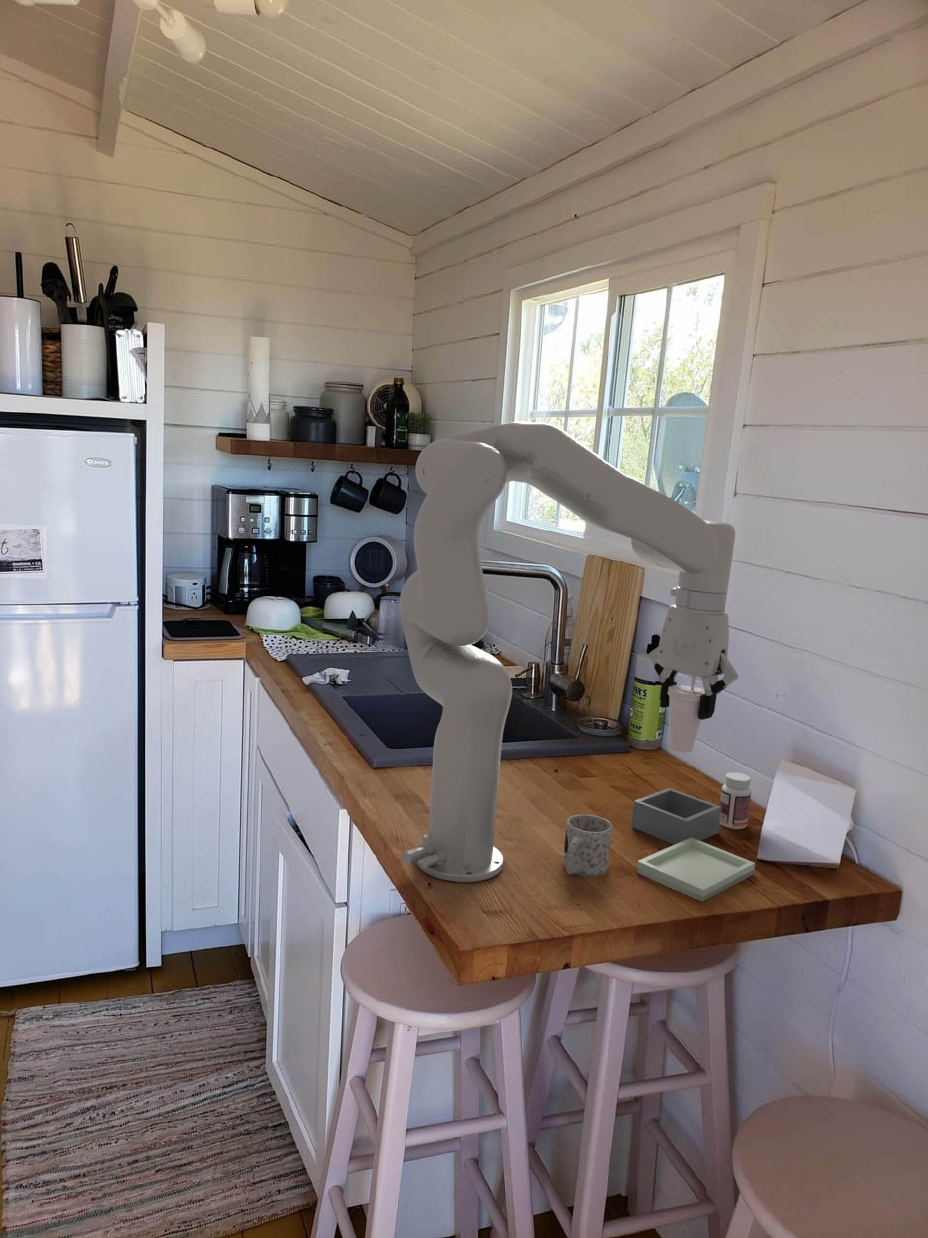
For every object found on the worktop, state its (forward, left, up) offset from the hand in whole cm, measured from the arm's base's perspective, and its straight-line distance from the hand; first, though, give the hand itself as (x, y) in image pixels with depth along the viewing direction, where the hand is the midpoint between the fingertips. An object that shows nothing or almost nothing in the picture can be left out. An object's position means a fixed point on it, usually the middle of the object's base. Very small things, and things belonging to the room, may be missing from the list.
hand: (685, 711), depth 152 cm
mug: (-23, 0, -20) cm, 31 cm away
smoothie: (0, 0, -6) cm, 6 cm away
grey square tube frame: (+1, 0, -20) cm, 20 cm away
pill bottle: (+11, -5, -20) cm, 24 cm away
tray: (-10, -11, -20) cm, 25 cm away
